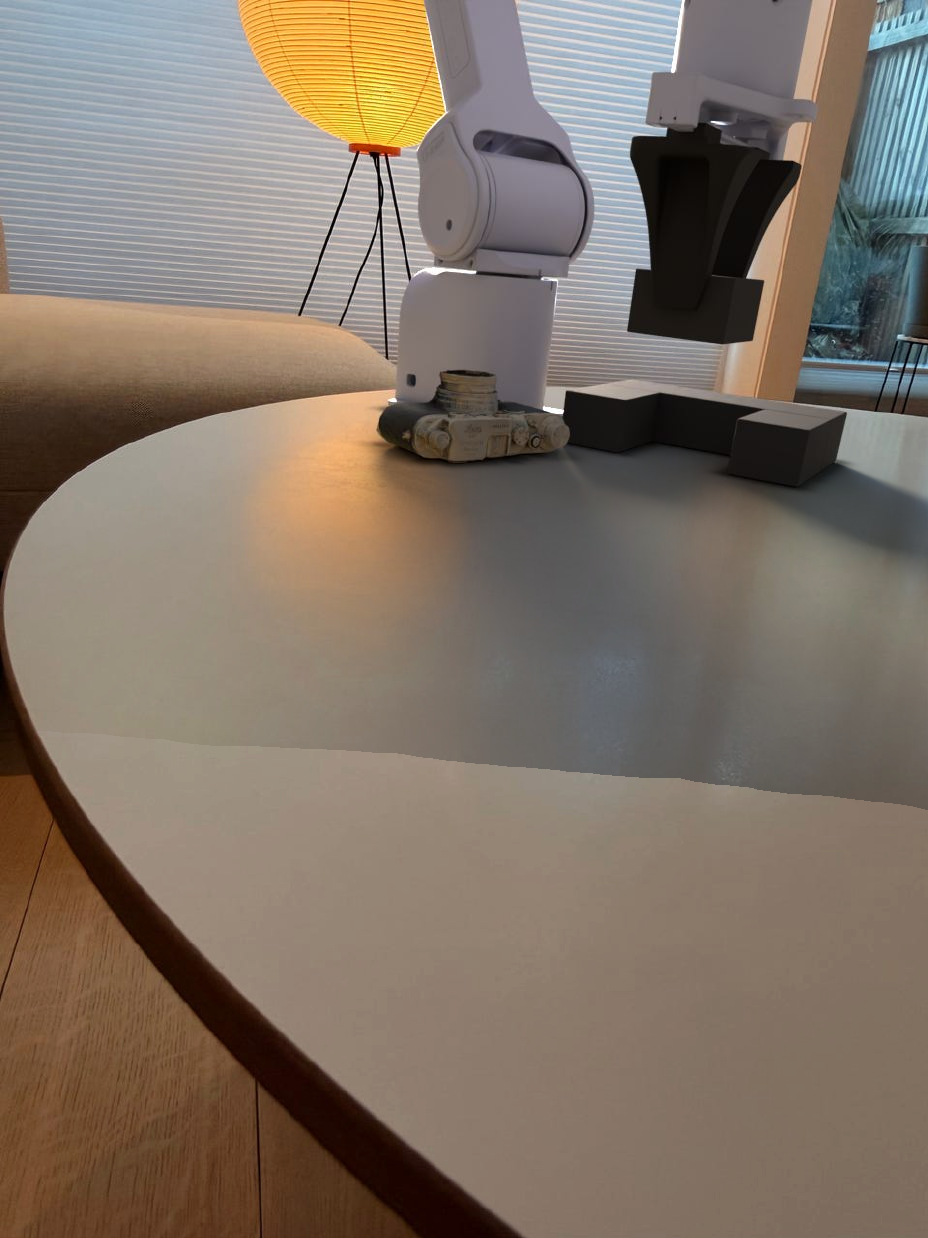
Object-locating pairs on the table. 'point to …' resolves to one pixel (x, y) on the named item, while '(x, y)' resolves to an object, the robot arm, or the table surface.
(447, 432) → the camera
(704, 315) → the pad piece
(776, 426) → the base pad
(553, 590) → the table surface
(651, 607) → the table surface
